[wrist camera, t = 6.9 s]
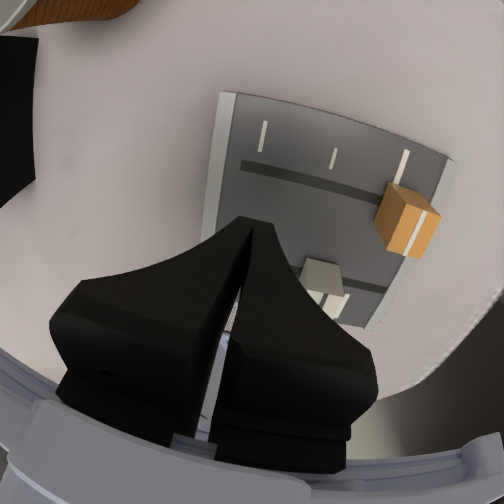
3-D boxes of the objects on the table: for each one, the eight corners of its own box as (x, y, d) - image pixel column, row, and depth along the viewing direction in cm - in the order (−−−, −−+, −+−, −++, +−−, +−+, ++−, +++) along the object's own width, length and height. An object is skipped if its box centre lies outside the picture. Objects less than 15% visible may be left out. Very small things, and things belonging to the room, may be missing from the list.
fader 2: (404, 231, 18) (420, 260, 15) (373, 221, 18) (386, 250, 15) (420, 193, 16) (442, 217, 13) (388, 182, 17) (406, 204, 14)
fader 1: (325, 295, 22) (328, 329, 19) (295, 289, 22) (294, 322, 19) (339, 265, 20) (344, 298, 17) (306, 257, 20) (307, 290, 18)
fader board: (370, 319, 25) (373, 331, 24) (200, 283, 25) (195, 294, 24) (449, 157, 16) (458, 163, 15) (225, 90, 16) (219, 91, 15)
